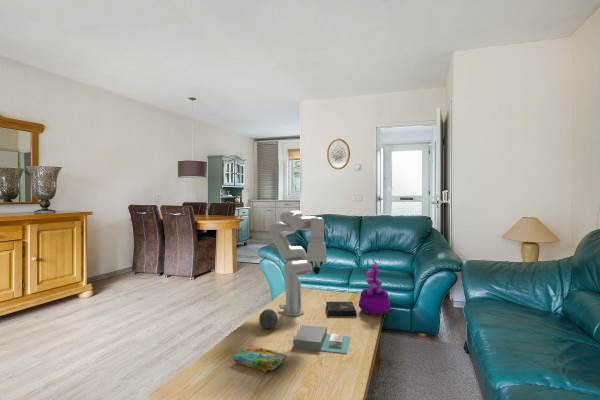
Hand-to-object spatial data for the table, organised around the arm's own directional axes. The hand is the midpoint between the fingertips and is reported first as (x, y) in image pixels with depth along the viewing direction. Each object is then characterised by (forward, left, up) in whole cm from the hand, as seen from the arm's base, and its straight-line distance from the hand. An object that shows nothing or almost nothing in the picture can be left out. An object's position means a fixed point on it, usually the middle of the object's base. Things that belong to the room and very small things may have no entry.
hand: (316, 273), depth 179 cm
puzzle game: (-16, -44, -30) cm, 55 cm away
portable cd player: (+10, +27, -30) cm, 41 cm away
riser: (+1, -18, -29) cm, 34 cm away
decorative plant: (+30, +30, -29) cm, 52 cm away
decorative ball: (-25, -8, -29) cm, 39 cm away
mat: (+13, -18, -29) cm, 37 cm away
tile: (+13, -18, -26) cm, 34 cm away
